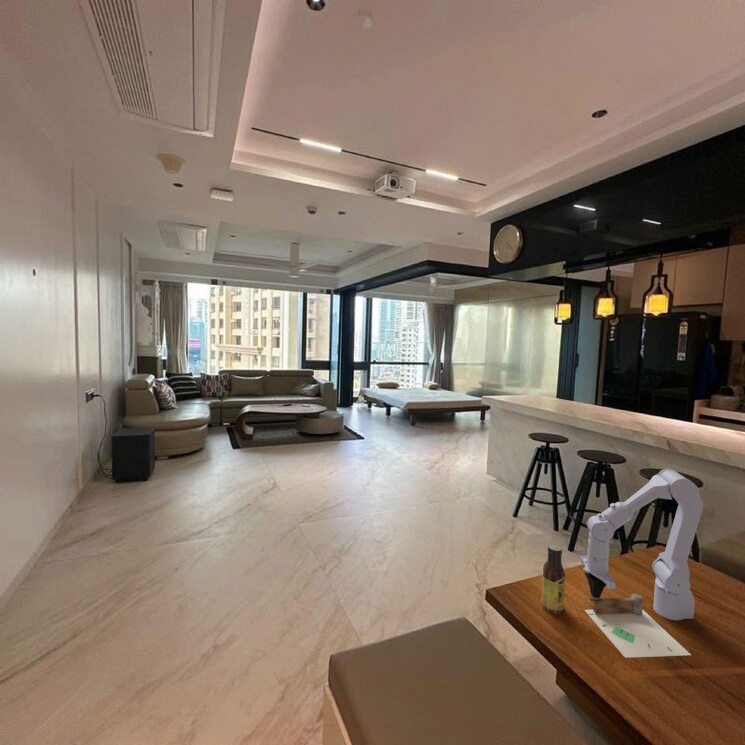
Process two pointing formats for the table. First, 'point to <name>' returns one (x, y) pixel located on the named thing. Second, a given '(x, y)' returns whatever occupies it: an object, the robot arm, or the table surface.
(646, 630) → the tuner dial board
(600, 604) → the tuning lever
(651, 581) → the table surface
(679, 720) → the table surface
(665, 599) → the robot arm
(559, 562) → the sauce bottle
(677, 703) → the table surface
